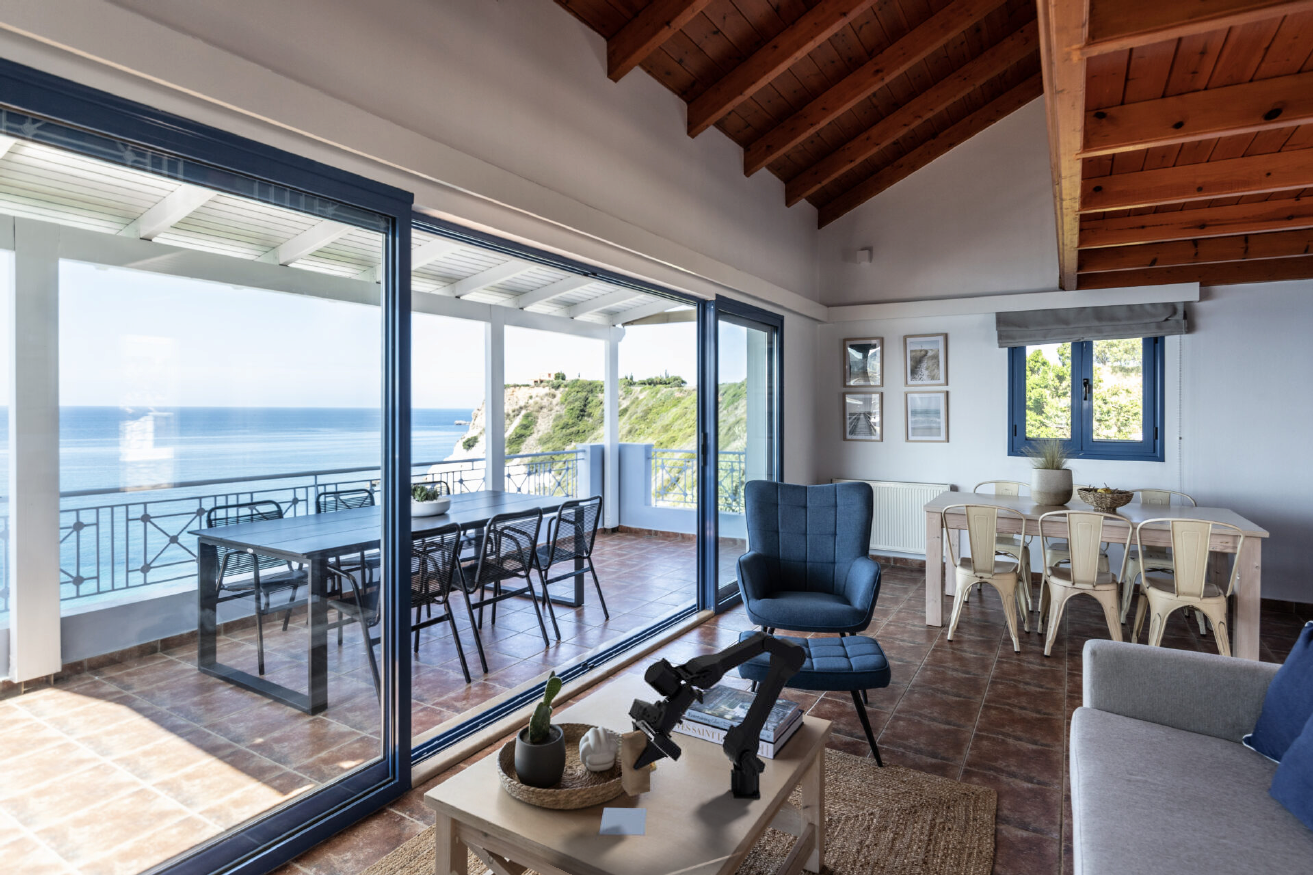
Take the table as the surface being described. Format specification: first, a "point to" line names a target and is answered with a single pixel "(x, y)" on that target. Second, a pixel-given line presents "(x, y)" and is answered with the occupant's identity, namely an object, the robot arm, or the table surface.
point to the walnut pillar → (630, 753)
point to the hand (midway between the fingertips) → (630, 763)
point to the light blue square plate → (623, 821)
